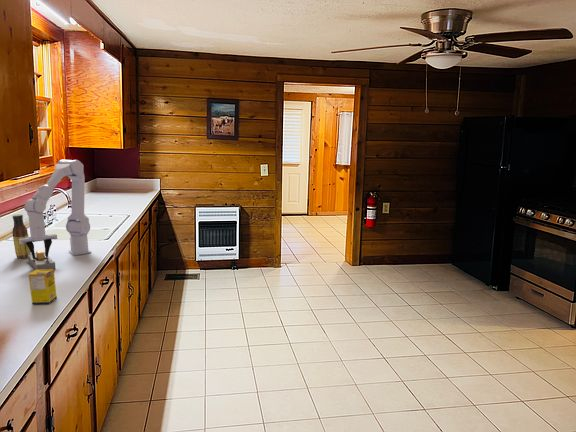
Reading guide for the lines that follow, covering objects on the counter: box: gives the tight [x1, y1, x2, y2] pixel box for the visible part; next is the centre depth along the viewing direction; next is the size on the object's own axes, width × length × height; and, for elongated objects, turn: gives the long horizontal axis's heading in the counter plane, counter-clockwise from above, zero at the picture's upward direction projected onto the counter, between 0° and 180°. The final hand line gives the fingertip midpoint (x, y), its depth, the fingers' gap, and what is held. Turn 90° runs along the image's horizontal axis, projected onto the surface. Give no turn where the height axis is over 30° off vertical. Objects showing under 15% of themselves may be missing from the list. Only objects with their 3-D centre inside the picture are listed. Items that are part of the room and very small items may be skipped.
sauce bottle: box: [12, 214, 31, 260], centre depth 223 cm, size 7×6×20 cm
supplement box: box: [28, 269, 57, 305], centre depth 168 cm, size 6×6×11 cm
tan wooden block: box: [35, 250, 45, 260], centre depth 211 cm, size 4×2×6 cm, turn 38°
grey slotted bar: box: [26, 251, 57, 271], centre depth 212 cm, size 22×7×3 cm, turn 37°
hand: (40, 257), depth 211 cm, fingers open, 4 cm apart
